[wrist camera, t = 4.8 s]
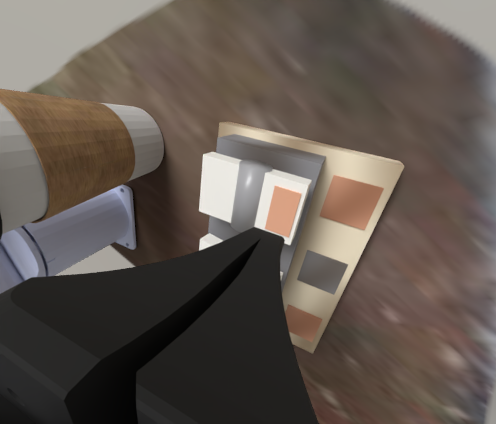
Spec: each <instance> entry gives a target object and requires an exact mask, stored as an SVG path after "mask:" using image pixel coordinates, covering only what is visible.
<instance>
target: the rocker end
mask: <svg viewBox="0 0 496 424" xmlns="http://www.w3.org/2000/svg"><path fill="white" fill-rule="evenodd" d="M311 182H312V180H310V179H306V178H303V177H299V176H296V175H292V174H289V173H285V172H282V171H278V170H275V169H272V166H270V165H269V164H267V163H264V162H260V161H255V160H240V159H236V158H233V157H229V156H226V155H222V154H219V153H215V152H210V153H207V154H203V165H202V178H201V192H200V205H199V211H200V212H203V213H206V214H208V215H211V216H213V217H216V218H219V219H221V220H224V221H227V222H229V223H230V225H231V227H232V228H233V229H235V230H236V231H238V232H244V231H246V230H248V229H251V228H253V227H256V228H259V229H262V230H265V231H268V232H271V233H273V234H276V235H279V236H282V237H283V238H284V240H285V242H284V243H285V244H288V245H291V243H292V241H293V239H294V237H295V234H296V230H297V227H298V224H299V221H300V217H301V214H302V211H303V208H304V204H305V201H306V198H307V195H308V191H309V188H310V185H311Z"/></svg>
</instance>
